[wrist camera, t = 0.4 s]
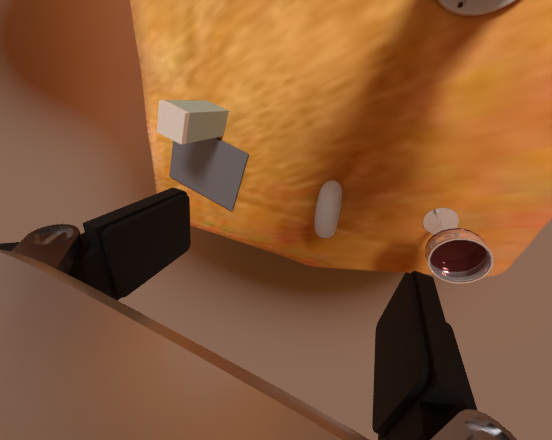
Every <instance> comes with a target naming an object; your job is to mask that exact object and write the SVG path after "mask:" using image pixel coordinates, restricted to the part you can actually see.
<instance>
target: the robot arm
mask: <svg viewBox="0 0 552 440" xmlns="http://www.w3.org/2000/svg"><path fill="white" fill-rule="evenodd" d="M437 1H438V3H439V4H440V5H441V6H442V7H443V8H445V9H446V10H447V11H449V12H451V13H454V14H456V15H461V16H480V15H484V14H488V13H492V12H494V11H497V10H499V9H501V8H504V7H506V6H508V5H509V4H511V3H513V2H514V1H516V0H437ZM460 3H461V4H462V7H461V8H458V4H460ZM83 227H84V230H85V233H83V234H80V231H79V229H78V227H76V226H74V225H69V224H56V225H50V226H45V227H42V228H39V229H37V230H34V231H32V232H31V233H29V234H28V235H27V236H25V238H24V239H23V240H22V241H21V242H16V243H3V244H0V440H369V439H367V438H365V437H364V436H362V435H361V434H359V433H357V432H356V431H354V430H353V429H351V428H349V427H347V426H345V425H344V424H342V423H340V422H339V421H337V420H335V419H333V418H331V417H330V416H328V415H326V414H324V413H323V412H321V411H319V410H317V409H316V408H314V407H312V406H310V405H309V404H306V403H305V402H303V401H302V400H300V399H298V398H296V397H294V396H293V395H291V394H289V393H287V392H285V391H284V390H282V389H280V388H278V387H276V386H274V385H273V384H271V383H269V382H267V381H265V380H263V379H261V378H260V377H258V376H256V375H254V374H252V373H251V372H249V371H247V370H245V369H243V368H241V367H240V366H238V365H236V364H234V363H232V362H230V361H229V360H227V359H225V358H223V357H221V356H219V355H218V354H216V353H214V352H212V351H210V350H208V349H206V348H205V347H203V346H201V345H199V344H197V343H195V342H194V341H192V340H190V339H188V338H186V337H184V336H182V335H180V334H179V333H177V332H175V331H173V330H171V329H169V328H168V327H166V326H164V325H161V324H160V323H158V322H156V321H154V320H153V319H151V318H149V317H147V316H145V315H143V314H141V313H140V312H138V311H136V310H134V309H132V308H130V307H128V306H127V305H125V304H122V303H121V302H119V301H118V300H119V299H120V298H122V297H126V296H127V295H129V294H130V293H131V292H133V291H134V290H136V289H137V288H138V287H140V286H141V285H142V284H144V283H145V282H146V281H148V280H149V279H150V278H151V277H153V276H154V275H156V274H157V273H158V272H160V271H161V270H162V269H164V268H165V267H166V266H168V265H169V264H170V263H172V262H173V261H174V260H176V259H177V258H178V257H180V256H181V255H182V254H184V253H185V252H186V251H187V250H188V249H189V247H190V205H189V197H188V196H187V193H186V192H185V191H182V190H179V189H176V188H170V189H168V190H165V191H163V192H160V193H158V194H155V195H153V196H150V197H148V198H145V199H143V200H140V201H138V202H135V203H133V204H130V205H127V206H125V207H123V208H120V209H117V210H115V211H113V212H110V213H107V214H105V215H102V216H100V217H97V218H95V219H92V220H90V221H87V222H85V223H83ZM373 397H374V398H373V431H374V432H376V433H378V440H517V439H516V438H515V437H514V436H513V435H512V433H511V432H509V431H508V430H507V429H506V428H505V427H503V426H502V425H501V424H500V423H499V422H498V421H496V420H494V419H493V418H491V417H490V416H488V415H487V414H484V413H482V412H479V411H477V407H476V404H475V401H474V398H473V395H472V391H471V388H470V385H469V381H468V378H467V375H466V372H465V368H464V365H463V362H462V359H461V355H460V352H459V349H458V345H457V342H456V339H455V336H454V332H453V330H452V327H451V325H449V324H448V323H446V321H445V317H444V314H443V311H442V307H441V304H440V300H439V297H438V293H437V290H436V286H435V283H434V279H433V277H431V276H429V275H426V274H423V273H420V272H417V271H413V272H412V273H411V274H410V273H405V275H404V276H403V278H402V280H401V282H400V283H399V286H398V287H397V289H396V291H395V292H394V294H393V296H392V298H391V300H390V301H389V303H388V305H387V307H386V309H385V310H384V312H383V314H382V316H381V318H380V319H379V321H378V324H377V327H376V337H375V366H374V396H373Z"/></svg>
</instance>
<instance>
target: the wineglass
mask: <svg viewBox="0 0 552 440" xmlns="http://www.w3.org/2000/svg"><path fill="white" fill-rule="evenodd" d="M458 223H459V218H458V216H457V214H456V213H455V212H454V211H452V210H450V209H447V208H437V209H434V210H431V211H430V212H428V213H427V214H426V215H425V217H424V219H423V225H424V228H425V229H426V230H427V231H428V232H430V233H432V234H434V235H433V236H432V237H431V238H430V239H429V240H428V242H427V245H426V247H425V257H426V259H427V261H428V266H429V268H430V270H431V272H432V273H433V274H434V275H435V276H436V277H438V278H440V279H442V280H444V281H447V282H451V283H459V284H464V283H470V282H474V281H477V280H479V279H481V278H483V277H484V276H486V275H487V274H488V273H489V272H490V270H491V268H492V267H493V261H494V258H493V255H492V253H491V251H490V250H489V249H488V248H487V245H486V243H485V242H484V240H483V239H482V238H481V237H480V236H479V235H478V234H476V233H474V232H472V231H470V230H466V229H461V228H456V227H457V225H458Z"/></svg>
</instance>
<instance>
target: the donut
mask: <svg viewBox="0 0 552 440" xmlns="http://www.w3.org/2000/svg"><path fill="white" fill-rule="evenodd" d="M341 202H342V187H341V185H340V183H339V182H337V181H334V180H330V181H327V182H326V183H325V184H323V186H322V187H321V189H320V192H319V195H318V199H317V204H316V210H315V219H314V227H315V231H316V233H317V235H318V236H319V237H321V238H329V237H331V236H333V234H334V233H335V231H336V228H337V224H338V220H339V215H340V209H341Z"/></svg>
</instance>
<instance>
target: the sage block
mask: <svg viewBox="0 0 552 440" xmlns="http://www.w3.org/2000/svg"><path fill="white" fill-rule="evenodd" d="M228 112H229V111H228V110H226V109H224V108H222V107H220V106H218V105H216V104H214V103H211V102H209V101H205V100H159V108H158V124H157V132H158V133H160V134H162V135H164V136H166V137H168V138H170V139H171V140H173V141H175V142H177V143H179V144H181V145H183V144H187V143H192V142H197V141H202V140H207V139H211V138H216V137H221V136H223V135H224V130H225V126H226V121H227V116H228Z"/></svg>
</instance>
